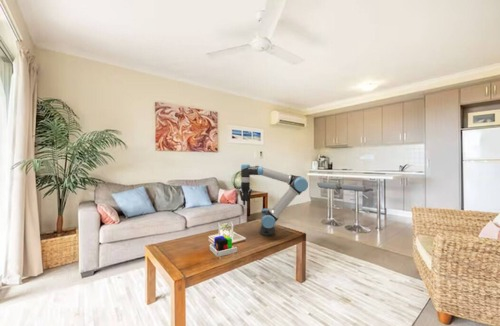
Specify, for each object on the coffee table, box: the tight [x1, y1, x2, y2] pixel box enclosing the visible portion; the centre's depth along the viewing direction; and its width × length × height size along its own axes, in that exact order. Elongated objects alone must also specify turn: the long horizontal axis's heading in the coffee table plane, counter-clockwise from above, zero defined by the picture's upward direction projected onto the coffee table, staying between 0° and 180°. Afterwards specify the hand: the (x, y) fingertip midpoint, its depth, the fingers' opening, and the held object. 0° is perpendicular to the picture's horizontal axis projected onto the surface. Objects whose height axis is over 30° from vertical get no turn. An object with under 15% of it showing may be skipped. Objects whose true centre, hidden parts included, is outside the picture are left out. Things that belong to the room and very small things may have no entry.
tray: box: [208, 243, 238, 258], centre depth 166 cm, size 16×16×4 cm
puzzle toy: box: [213, 234, 233, 251], centre depth 165 cm, size 10×10×10 cm
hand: (245, 208), depth 191 cm, fingers closed
